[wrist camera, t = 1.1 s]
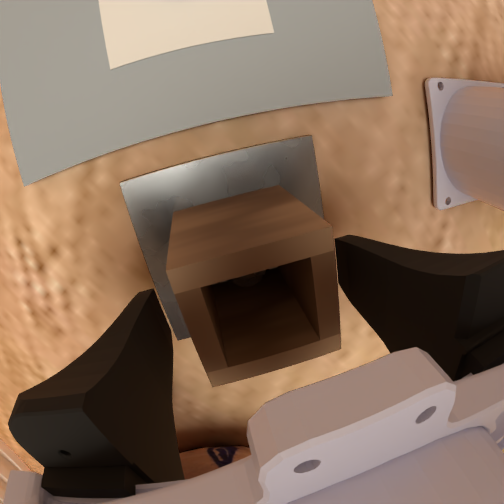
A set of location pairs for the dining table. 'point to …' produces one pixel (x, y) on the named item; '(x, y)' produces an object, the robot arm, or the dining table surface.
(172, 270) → the collar
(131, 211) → the stand
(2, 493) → the plate stack
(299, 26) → the board
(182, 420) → the dining table surface
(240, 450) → the ceramic pitcher
